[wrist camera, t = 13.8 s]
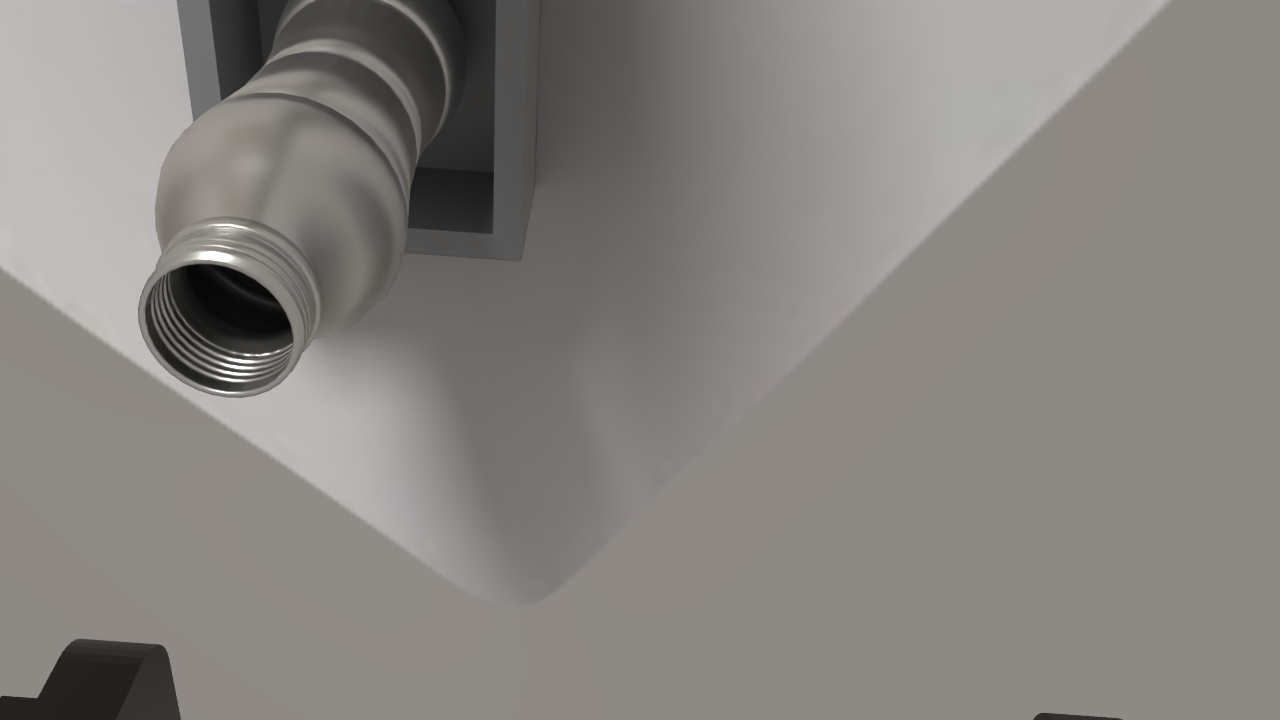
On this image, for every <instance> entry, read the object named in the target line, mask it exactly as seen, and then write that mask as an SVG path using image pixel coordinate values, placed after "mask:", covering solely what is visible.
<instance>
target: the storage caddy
mask: <svg viewBox="0 0 1280 720" xmlns="http://www.w3.org/2000/svg"><path fill="white" fill-rule="evenodd" d="M448 1H449V3H450V4H451V6H452V8H453V10H454V12H455V14H456V16H457V18H458V20H459V22H460V25H461V29H462V33H463V36H464V41H465V53H466V65H467V74H466V83H465V90H464V93H463V96H462V99H461V102H460V105H459V107H458V108H457V110H456V112H455V113H454V115H453V117H452V118H451V120H450V121H449V123H448V124H447V125H446V127H445V128H444V129H443V131H442V132H441V133H440V134H439V135H438V136H437V137H436V138H435V139H434V140H433V141H432V143H431V144H429V145H428V146H427V147H426V148H425V150H424V152H423V153H422V155H421V157H420V158H419V160H418V162H417V165H416V170H415V173H414V177H413V181H412V185H411V188H410V200H409V214H408V229H407V240H406V245H405V249H404V253H414V254H428V255H442V256H456V257H469V258H483V259H497V260H510V261H521V259H522V253H523V248H524V243H525V237H526V232H527V226H528V221H529V216H530V210H531V205H532V199H533V194H534V188H535V161H536V131H537V100H538V70H539V40H540V9H541V0H448ZM287 2H288V0H177V6H178V13H179V20H180V27H181V35H182V42H183V49H184V56H185V63H186V71H187V78H188V85H189V92H190V100H191V107H192V114H193V121H195V120H196V119H198V118H199V117H200V116H202V115H203V114H204V113H205V112H207V111H208V110H209V109H211V108H212V107H213V106H215V105H217V104H218V103H220V102H221V101H223V100H224V99H226V98H227V97H229V96H230V95H232V94H233V93H235V92H236V91H238V90H239V89H241V88H242V87H244V86H245V85H246V84H247V83H248V81H249V80H250V79H251V78H252V77H253V76H254V75H255V74H256V73H257V72H258V71H260V69H261V68H262V67H263V66H264V65H265V63H266V61H267V59H268V57H269V55H270V53H271V51H272V46H273V42H274V38H275V33H276V29H277V26H278V23H279V21H280V18H281V15H282V13H283V11H284V9H285V6H286V4H287Z"/></svg>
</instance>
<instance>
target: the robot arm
mask: <svg viewBox="0 0 1280 720" xmlns="http://www.w3.org/2000/svg"><path fill="white" fill-rule="evenodd" d="M0 720H181V718H180V712H179V707H178V702H177V697H176V692H175V687H174V682H173V677H172V671H171V666H170V662H169V657H168V653H167V651H166V649H165V648H164V647H163V646H162V645H158V644H144V643H130V642H116V641H103V640H90V639H76V640H74V641H73V642H71V643H70V644H69V645H68V646H67V647H66V648H65V650H64V651H63V652H62V654H61V656H60V657H59V659H58V661H57V663H56V665H55V667H54V669H53V671H52V672H51V674H50V676H49V678H48V680H47V682H46V684H45V685H44V687H43V689H42V691H41V693H40V695H39V697H38V698H24V697H11V696H1V697H0ZM1033 720H1122V719H1119V718H1106V717H1094V716H1093V717H1092V716H1080V715H1066V714H1053V713H1040V714H1038V715H1037V716H1036V717H1035V718H1034V719H1033Z"/></svg>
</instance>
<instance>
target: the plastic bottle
mask: <svg viewBox="0 0 1280 720" xmlns="http://www.w3.org/2000/svg"><path fill="white" fill-rule="evenodd" d="M466 74H467V65H466V53H465V41H464V36H463V33H462V29H461V25H460V22H459V20H458V18H457V16H456V14H455V12H454V10H453V8H452V6H451V4H450V3H449V1H448V0H288V2H287V4H286V6H285V9H284V11H283V13H282V15H281V18H280V21H279V23H278V26H277V29H276V33H275V38H274V42H273V46H272V51H271V53H270V55H269V57H268V59H267V61H266V63H265V65H264V66H263V67H262V68H261V69H260V71H258V72H257V73H256V74H255V75H254V76H253V77H252V78H251V79H250V80H249V81H248V83H247V84H246V85H245V86H244V87H242V88H241V89H239V90H238V91H236V92H235V93H233V94H232V95H230V96H229V97H227V98H226V99H224V100H223V101H221V102H220V103H218V104H217V105H215V106H213V107H212V108H211V109H209V110H208V111H207V112H205V113H204V114H203V115H202V116H200V117H199V118H198V119H196V120H195V121H194V122H193V123H192V124H191V125H190V126H189V127H188V128H187V129H186V130H185V131H184V132H183V133H182V134H181V135H180V137H179V138H178V139H177V140H176V142H175V143H174V144H173V145H172V147H171V148H170V150H169V152H168V154H167V156H166V159H165V161H164V163H163V165H162V167H161V172H160V177H159V182H158V188H157V195H156V204H155V221H156V232H157V235H158V239H159V243H160V247H161V251H162V254H161V256H160V258H159V260H158V262H157V265H156V269H155V271H154V272H153V273H152V275H151V276H150V277H149V278H148V280H147V282H146V284H145V286H144V289H143V291H142V294H141V297H140V302H139V307H138V317H139V325H140V329H141V333H142V336H143V338H144V340H145V342H146V344H147V346H148V348H149V350H150V352H151V353H152V354H153V356H154V357H155V358H156V360H157V361H158V362H159V363H160V364H161V365H162V366H163V367H164V368H165V369H166V370H167V371H168V372H169V373H170V374H172V375H173V376H174V377H176V378H177V379H179V380H180V381H181V382H183V383H185V384H187V385H189V386H191V387H193V388H195V389H197V390H199V391H202V392H205V393H208V394H211V395H216V396H222V397H234V398H243V397H249V396H255V395H258V394H261V393H264V392H267V391H269V390H271V389H272V388H274V387H275V386H277V385H279V384H280V383H281V382H282V381H283V380H284V379H285V378H286V377H287V376H288V375H289V374H290V373H291V372H292V371H293V369H294V367H295V366H296V364H297V362H298V361H299V359H300V356H301V354H302V353H303V352H304V351H305V349H306V348H307V347H308V346H309V345H310V343H311V341H312V340H314V339H320V338H325V337H327V336H330V335H332V334H335V333H338V332H340V331H343V330H344V329H346V328H347V327H349V326H350V325H352V324H354V323H355V322H357V321H358V320H359V319H361V318H362V317H363V316H364V315H365V314H367V313H368V312H369V311H370V310H371V309H372V308H373V307H374V306H375V305H376V304H377V303H378V302H379V301H380V300H381V299H382V298H383V297H384V296H385V295H386V294H387V292H388V291H389V289H390V287H391V286H392V284H393V282H394V281H395V279H396V277H397V274H398V271H399V268H400V265H401V262H402V259H403V254H404V249H405V245H406V240H407V229H408V214H409V200H410V188H411V185H412V181H413V177H414V173H415V170H416V165H417V162H418V160H419V158H420V157H421V155H422V153H423V152H424V150H425V148H426V147H427V146H428V145H429V144H431V143H432V141H433V140H434V139H435V138H436V137H437V136H438V135H439V134H440V133H441V132H442V131H443V129H444V128H445V127H446V125H447V124H448V123H449V121H450V120H451V118H452V117H453V115H454V113H455V112H456V110H457V108H458V107H459V105H460V102H461V99H462V96H463V93H464V90H465V83H466Z"/></svg>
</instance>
